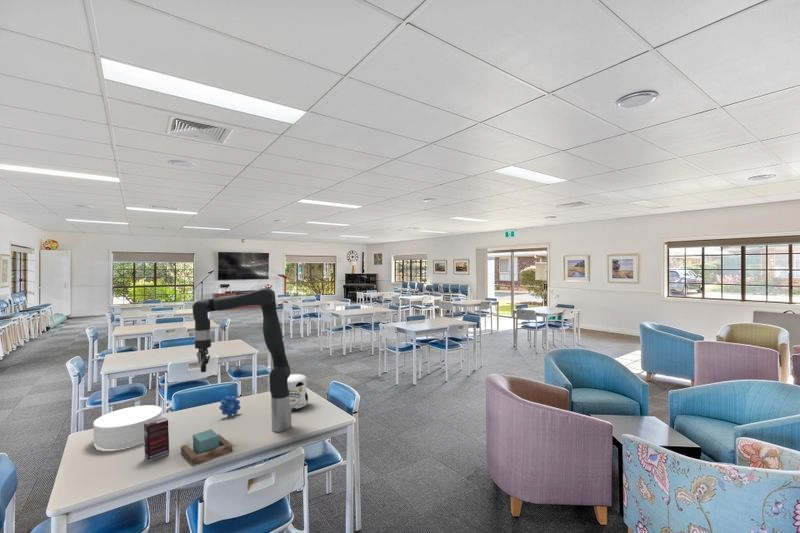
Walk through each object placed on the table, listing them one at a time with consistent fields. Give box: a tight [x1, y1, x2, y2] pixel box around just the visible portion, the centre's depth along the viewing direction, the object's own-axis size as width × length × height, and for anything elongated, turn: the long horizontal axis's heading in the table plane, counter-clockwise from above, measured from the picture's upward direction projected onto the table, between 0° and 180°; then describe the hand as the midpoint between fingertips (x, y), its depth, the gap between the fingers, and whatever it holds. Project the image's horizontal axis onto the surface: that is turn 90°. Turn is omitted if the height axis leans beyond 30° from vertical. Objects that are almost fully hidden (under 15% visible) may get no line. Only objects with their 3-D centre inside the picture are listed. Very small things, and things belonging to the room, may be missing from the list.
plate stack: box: [92, 404, 163, 449], centre depth 187 cm, size 28×28×12 cm
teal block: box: [192, 429, 219, 455], centre depth 170 cm, size 8×10×8 cm
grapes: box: [219, 395, 241, 418], centre depth 211 cm, size 12×7×12 cm, turn 134°
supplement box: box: [144, 417, 170, 462], centre depth 167 cm, size 9×5×16 cm, turn 141°
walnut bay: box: [180, 433, 233, 466], centre depth 171 cm, size 17×16×3 cm
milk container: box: [287, 373, 309, 411], centre depth 225 cm, size 17×17×18 cm
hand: (203, 371), depth 190 cm, fingers closed
